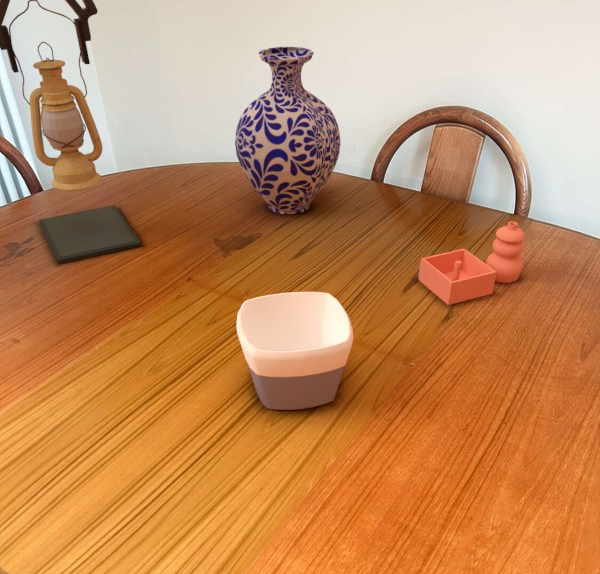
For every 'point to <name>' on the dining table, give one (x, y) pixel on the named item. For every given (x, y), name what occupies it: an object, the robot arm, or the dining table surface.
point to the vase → (287, 136)
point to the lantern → (63, 124)
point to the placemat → (88, 234)
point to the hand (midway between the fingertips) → (51, 66)
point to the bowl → (295, 347)
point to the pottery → (474, 268)
